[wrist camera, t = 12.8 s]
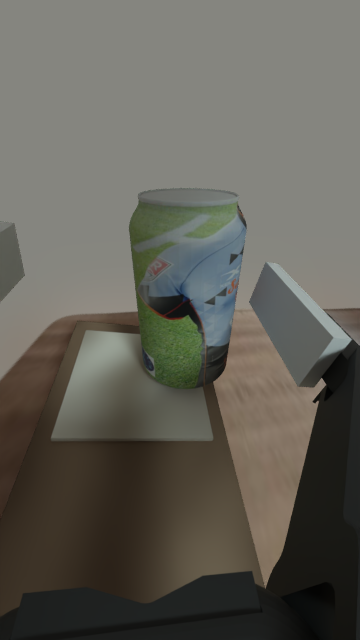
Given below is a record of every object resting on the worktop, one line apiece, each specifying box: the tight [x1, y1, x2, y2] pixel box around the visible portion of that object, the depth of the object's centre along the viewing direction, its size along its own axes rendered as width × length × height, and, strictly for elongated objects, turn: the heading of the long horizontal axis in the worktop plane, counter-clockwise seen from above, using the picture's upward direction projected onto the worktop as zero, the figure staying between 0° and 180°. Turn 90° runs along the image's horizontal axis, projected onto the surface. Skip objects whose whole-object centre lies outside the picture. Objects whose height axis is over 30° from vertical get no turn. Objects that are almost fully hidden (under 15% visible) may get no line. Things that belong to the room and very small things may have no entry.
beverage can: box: [129, 188, 246, 389], centre depth 15 cm, size 6×7×12 cm
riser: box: [0, 321, 265, 617], centre depth 16 cm, size 11×20×5 cm, turn 6°
